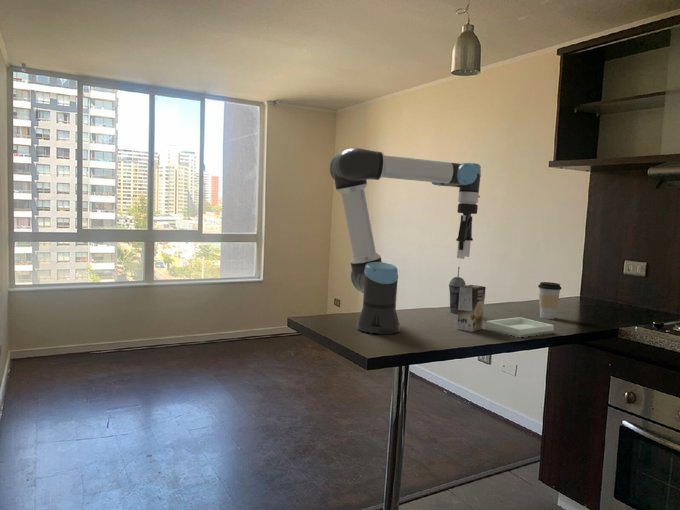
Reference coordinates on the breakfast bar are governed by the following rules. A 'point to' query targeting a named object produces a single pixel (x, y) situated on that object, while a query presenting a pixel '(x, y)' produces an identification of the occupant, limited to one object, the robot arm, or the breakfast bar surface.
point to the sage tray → (519, 327)
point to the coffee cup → (548, 299)
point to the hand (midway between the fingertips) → (463, 257)
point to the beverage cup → (455, 292)
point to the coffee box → (471, 307)
